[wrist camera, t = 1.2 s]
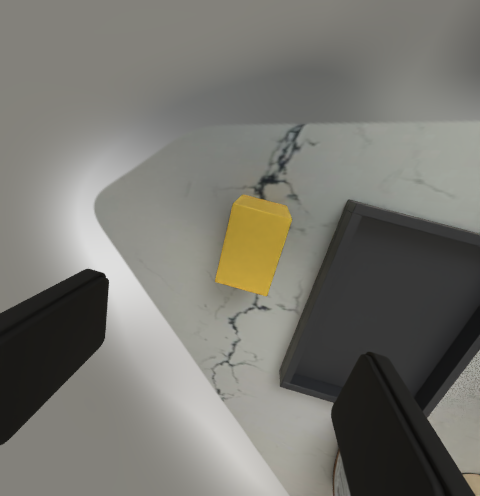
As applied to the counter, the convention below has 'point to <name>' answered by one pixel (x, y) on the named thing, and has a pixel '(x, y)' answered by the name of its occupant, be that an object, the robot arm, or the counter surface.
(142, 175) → the counter surface
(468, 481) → the candle
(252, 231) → the sponge
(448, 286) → the tray
